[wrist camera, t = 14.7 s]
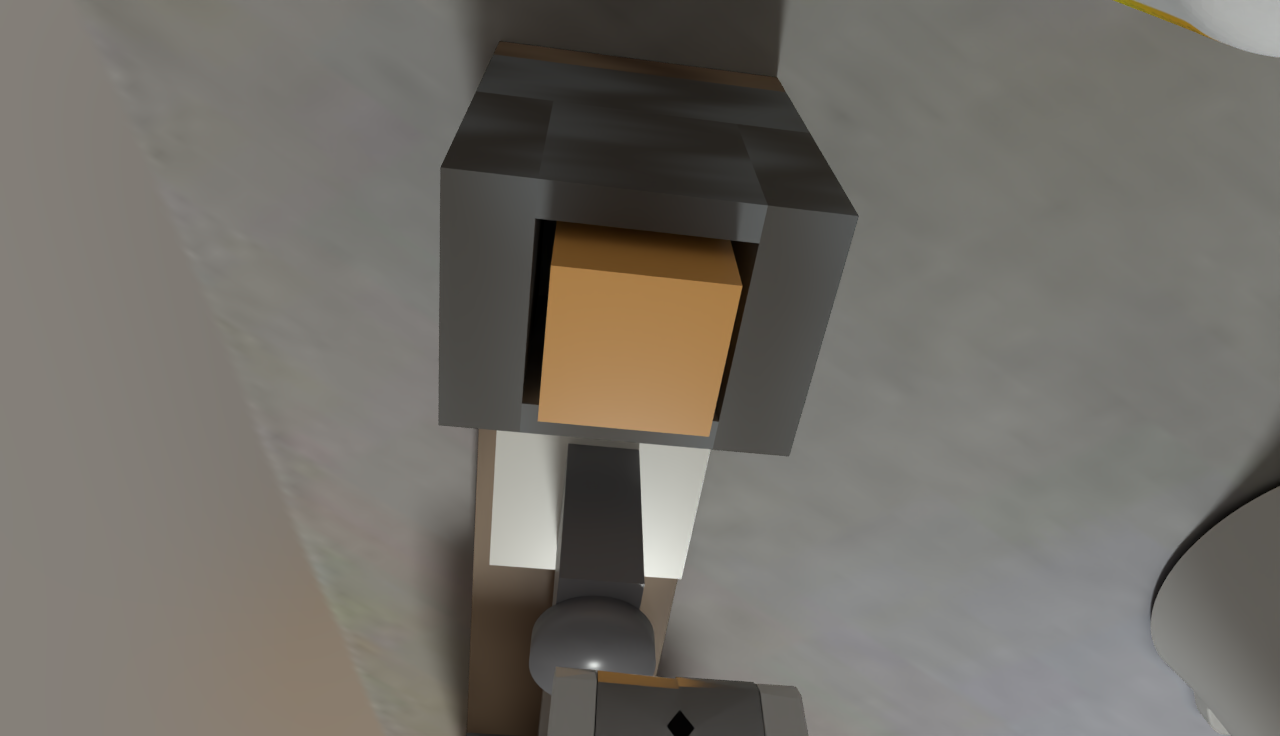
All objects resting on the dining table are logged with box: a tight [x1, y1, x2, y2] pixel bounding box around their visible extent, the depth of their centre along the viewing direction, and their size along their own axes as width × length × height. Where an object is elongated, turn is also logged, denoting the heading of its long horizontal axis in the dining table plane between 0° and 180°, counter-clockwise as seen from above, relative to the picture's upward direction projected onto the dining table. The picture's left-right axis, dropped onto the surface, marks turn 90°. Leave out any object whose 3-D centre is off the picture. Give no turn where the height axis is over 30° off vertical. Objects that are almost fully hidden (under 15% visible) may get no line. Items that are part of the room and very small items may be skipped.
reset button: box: [538, 221, 742, 437], centre depth 19 cm, size 4×4×5 cm
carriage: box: [489, 430, 711, 695], centre depth 25 cm, size 6×6×10 cm
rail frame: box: [439, 41, 859, 736], centre depth 30 cm, size 8×36×10 cm, turn 172°
